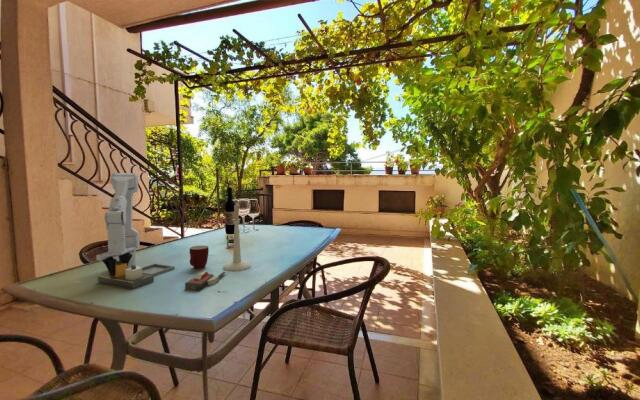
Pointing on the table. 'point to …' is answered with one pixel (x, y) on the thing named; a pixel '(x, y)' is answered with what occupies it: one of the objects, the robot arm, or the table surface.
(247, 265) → the candlestick
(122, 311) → the table surface
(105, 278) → the open box
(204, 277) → the walkie-talkie
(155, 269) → the tray
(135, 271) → the twin plug
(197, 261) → the mug
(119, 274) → the plug
